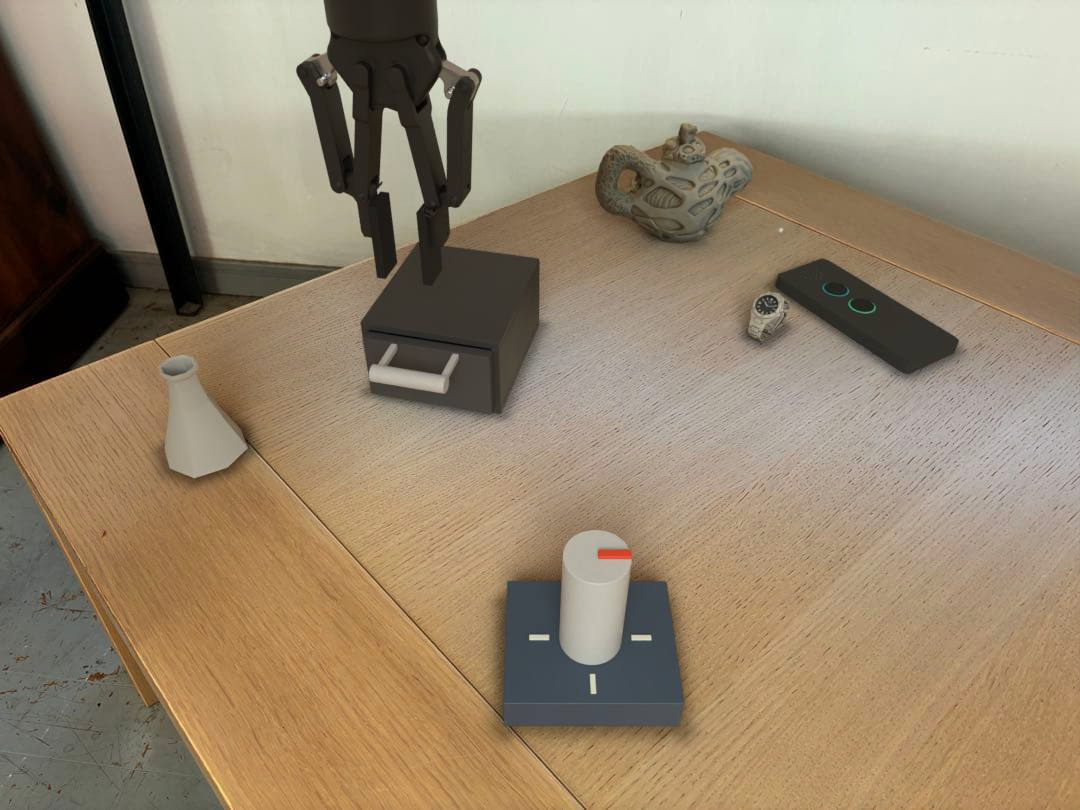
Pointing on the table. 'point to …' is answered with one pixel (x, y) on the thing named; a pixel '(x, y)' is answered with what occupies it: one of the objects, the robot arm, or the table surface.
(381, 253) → the robot arm
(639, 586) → the timer panel
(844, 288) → the smart home device
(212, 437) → the flask
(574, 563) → the timer knob
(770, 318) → the wristwatch
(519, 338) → the drawer cabinet
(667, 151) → the teapot
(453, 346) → the open drawer with handle
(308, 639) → the table surface
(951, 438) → the table surface
